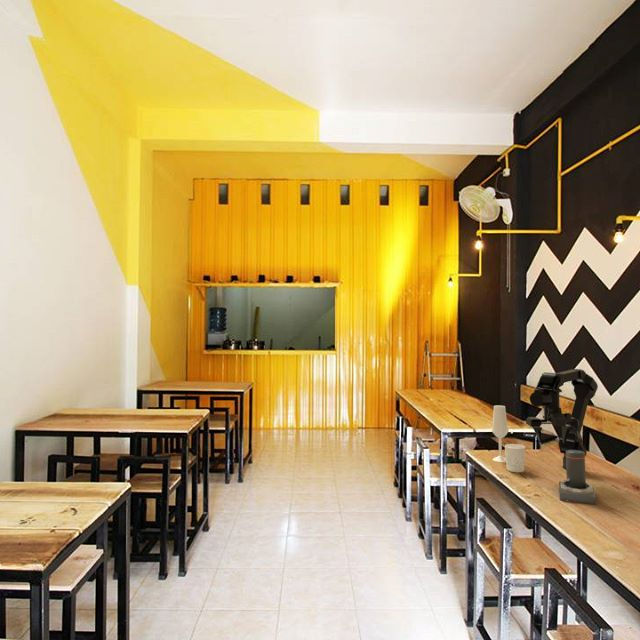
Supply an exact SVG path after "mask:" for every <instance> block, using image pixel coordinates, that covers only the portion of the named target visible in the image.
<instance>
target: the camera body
mask: <svg viewBox="0 0 640 640" xmlns="http://www.w3.org/2000/svg"><path fill="white" fill-rule="evenodd" d="M558 496H559V497H558V498H559V501H564V500H568V501H567V502H572V501H576V502H575V503H580V502H582V503H583V504H588V503H589V504H588V505H597V503H596V500H597V498H596V497H597V496H596V493H595V489H594V485H592V484H591V483H589V482H586V488H583V489H579V488H572V487H568V486H567V479H564V480H561V481H558Z"/></svg>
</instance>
